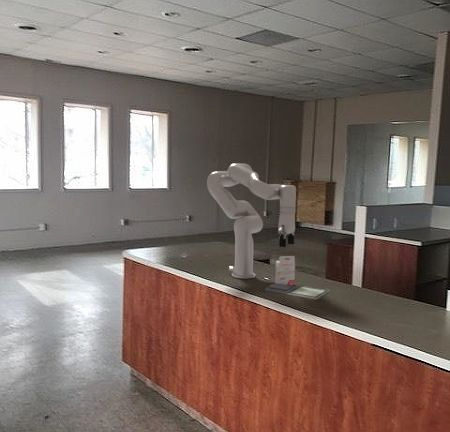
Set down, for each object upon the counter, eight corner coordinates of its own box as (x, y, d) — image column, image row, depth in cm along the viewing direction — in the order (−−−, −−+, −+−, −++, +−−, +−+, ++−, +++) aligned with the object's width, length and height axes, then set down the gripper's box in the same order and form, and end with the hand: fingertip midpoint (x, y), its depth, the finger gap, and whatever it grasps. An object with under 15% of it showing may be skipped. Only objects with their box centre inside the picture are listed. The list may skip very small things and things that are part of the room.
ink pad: (265, 290, 228) (265, 286, 228) (274, 286, 237) (274, 282, 237) (286, 294, 223) (286, 290, 222) (295, 289, 231) (295, 286, 231)
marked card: (286, 294, 223) (286, 292, 222) (301, 286, 237) (301, 285, 237) (315, 299, 215) (315, 298, 215) (329, 291, 230) (329, 289, 230)
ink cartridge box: (290, 282, 244) (291, 254, 242) (294, 285, 239) (295, 255, 238) (274, 283, 242) (275, 254, 240) (278, 286, 237) (279, 256, 235)
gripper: (287, 208, 246) (287, 242, 247) (272, 211, 231) (271, 247, 233) (301, 209, 242) (300, 243, 243) (287, 212, 227) (286, 248, 229)
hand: (286, 245), depth 238 cm, fingers open, 9 cm apart
